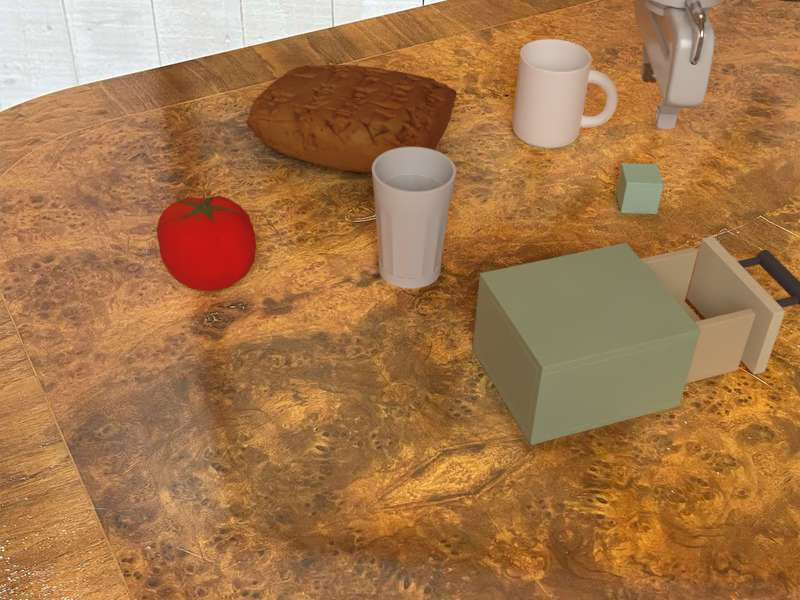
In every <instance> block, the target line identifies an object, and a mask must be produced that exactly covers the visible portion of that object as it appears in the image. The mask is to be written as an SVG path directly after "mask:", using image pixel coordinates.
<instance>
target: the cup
mask: <svg viewBox="0 0 800 600" xmlns="http://www.w3.org/2000/svg"><path fill="white" fill-rule="evenodd" d="M371 174H372V175H371V177H372V187H373V188H372V189H373V198H374V212H375V228H376V239H377V240H376V241H377V253H378V254H377V255H378V273H379V275H380V277H381V278H382V280H384V281H385V282H386V283H388V284H390V285H392V286H393V287H396V288H400V289H406V290H407V289H408V290H409V289H410V290H411V289H412V290H413V289H420V288H425V287H428V286H430V285H432V284H433V283H435V282H436V281H437V280H438V279H439V278H440V275H441V273H442V271H441V270H442V256H443V255H442V254H443V250H444V244H445V238H446V232H447V231H446V230H447V225H448V219H449V213H450V208H451V207H450V206H451V203H452V199H453V194H454V190H455V189H454V188H455V182H456V178H457V167H456V165H455V162H454V161H453V160H452V159H451V158H450V157H449V156H447V155H446V154H445V153H442V152H440V151H438V150H435V149H434V150H432V149H429V148H423V147H400V148H395V149H392V150H389V151H386V152H384V153H383V154H381V155H380V156H378V157H377V158H376V159H375V161H374V162H373V165H372V173H371Z"/></svg>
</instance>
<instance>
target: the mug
mask: <svg viewBox="0 0 800 600" xmlns="http://www.w3.org/2000/svg"><path fill="white" fill-rule="evenodd" d="M592 62H593V56H592V53H590V51H589V50H588V49H587V48H586V47H584V46H582V45H580V44H579V43H576V42H573V41H569V40H565V39H558V38H542V39H535V40H533V41H529V42H528V43H527V42H526V44H524V45H523V46H522V47H521V48H520V51H519V58H518V66H517V75H516V82H515V83H516V84H515V91H514V92H515V93H514V102H513V103H514V104H513V111H512V120H511V121H512V122H511V124H512V125H511V126H512V132H513V133H514V135H515V136H516V137H517V138H518V140H520V141H521V142H523V143H524V144H526V145H529V146H531V147H534V148H538V149H547V150H551V149H552V150H554V149H555V150H556V149H561V148H565V147H567V146H569V145H571V144H573V143H574V142H576V140H577V139H578V138H579V136H580V133H581V130H582V129H583V128H584V129H590V128H597V127H601V126H602V125H604V124H606V123H607V122H608V121H610V119H612V117H613V116H614V114H615V112H616V111H617V107H618V103H619V93H618V88H617V86H616V84H615V82H614V81H613V79H612V78H610V76H608V75H607V74H606V73H603V72H602V71H600V70H596V69H592ZM589 84H593V85H596V86H599V87H601V88H602V90H603V91H604V92H605V95H606V102H605V106H604V108H603V109H602V111H601V112H599V113H597V114H596V115H584V112H585V107H586V106H585V105H586V101H587V93H588V88H589Z"/></svg>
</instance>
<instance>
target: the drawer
mask: <svg viewBox="0 0 800 600" xmlns="http://www.w3.org/2000/svg"><path fill="white" fill-rule="evenodd" d="M640 259H641V260H642V261H643V263H644V264H645V265H646V266H647V267H648V268H649V270H650V271H651V272H652V273H653V274H654V275H655V277H656V278H657V279H658V280H659V281H660V282H661V283H662V285H663V286H664V287H665V288H666V289H667V290H668V292H669V293H670V294H671V295H672V296H673V297H674V299H675V300H676V301H677V302H678V303H679V304H680V306H681V307H682V308H683V309H684V310H685V311H686V313H687V314H688V315H689V316H690V317H691V318H692V320H693V321H694V322H695V323H696V324H697V325H698V327H699V328H700V329H701V332H700V335H699V339H698V342H697V346H696V349H695V353H694V356H693V360H692V363H691V367H690V370H689V374H688V377H687V381H686V384H689V383H693V382H698V381H702V380H706V379H710V378H714V377H718V376H721V375H725V374H730V373H733V372H736V371H737V372H738V370H739V367H740V364H741V362H742V363H743V364H744V366H745V367H746V368H747V369H748V370H749V371H750V372H751V373H752V375H757V374H762V373H765V372H766V369H767V366H768V363H769V360H770V358H771V354H772V352H773V348H774V346H775V343H776V340H777V338H778V334H779V331H780V329H781V325H782V322H783V319H784V317H785V314H786V310H785V309H784V308H787V307H791V306H795V305H798V306H800V280H799V279H798V278H797V277H796V276H795V275H794V274H793V273H792V272H791V271H790V270H789V269H788V268H787V267H786V266H785V265H784V264H783V263H782V262H781V261H780V260H779V259H778V258H777V257H776V256H775V255H774V254H773V253H772V252H771V251H770V250H769V249H763V250H760V251H759V252H758V253H757V255H756V256H753V257H749V258H745V259H740V260H737V259H735V257H733V255H732V254H731V253H730V252H729V251H728V250H727V249H726V248H725V247H724V246H723V244H722V243H720V241H718V240H717V239H716V238H715V236H713V235H712V236H707V237H702V239H701V242H700V246H699V249H698V250H697V249H696V248H695V247H694V246H692V247H687V248H683V249H679V250H674V251H670V252H665V253H659V254H654V255H650V256H646V257H642V258H641V257H640ZM755 266H760V267H761V268H762V269H763V271H765V272H766V273H767V274H768V275H769V276H770V277H771V278H772V279H773V280H774V281H775V282H776V283H777V284H778V285H779V286H780V287H781V289H783V290H784V292H786V293H787V294H788V295H789V296H787V297H783V298H778V299H774V298H773V297H772V296H771V294H769V292H767V290H766V289H765V288H763V286H762V285H761V284H760V283H759V282H758V281H757V280H756V279H755V278H754V277H753V276H752V275H751V274H750V273H749V272H748V271H747V270H746V268H751V267H755ZM686 300H688V301H689V303H690V304H691V305H692V306H693V307H694V308H695V310H697V312H698V313H699V314H700V315H701V316H702V318H703V319H701V318H700V317H699V315H697V313H696V312H695V311H694V310H693V309H692V308H691V307H690V306H689V304H688V303H687V302H686Z"/></svg>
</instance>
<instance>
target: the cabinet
mask: <svg viewBox="0 0 800 600" xmlns="http://www.w3.org/2000/svg"><path fill="white" fill-rule="evenodd" d="M474 319H475V321H474V329H473V340H472V347H471V348H472V352H473V353H474V354H475V356H476V359H477V360H478V361H479V363H480V365H481V367H482V368H483V370H484V371H485V373H486V374H487V376H488V378H489V379H490V381H491V383H492V385H493V386H494V387H495V389H496V392H497V393H498V394H499V396H500V398H501V399H502V401H503V403H504V404H505V406H506V407H507V409H508V411H509V412H510V414H511V416H512V418H513V420H514V421H515V423H516V424H517V426H518V428H519V429H520V431H521V432H522V434H523V435H524V437H525V440H527V442H528V444H529V446H533V445H537V444H541V443H544V442H549V441H553V440H556V439H560V438H564V437H567V436H571V435H576V434H578V433H583V432H587V431H591V430H594V429H598V428H601V427H606V426H609V425H613V424H618V423H621V422H625V421H628V420H632V419H637V418H640V417H644V416H647V415H648V416H649V415H651V414H654V413H655V414H656V413H659V412H664V411H667V410H671V409H674V408H678V407H680V405H681V402H682V398H683V395H684V390H685V388H686V381H687V377H688V374H689V370H690V367H691V363H692V360H693V356H694V353H695V349H696V346H697V342H698V339H699V335H700V332H701V329H700V328H699V327H698V325H697V324H696V323H695V322H694V321H693V320H692V318H691V317H690V316H689V315H688V314H687V313H686V311H685V310H684V309H683V308H682V307H681V306H680V304H679V303H678V302H677V301H676V300H675V299H674V297H673V296H672V295H671V294H670V293H669V292H668V290H667V289H666V288H665V287H664V286H663V285H662V283H661V282H660V281H659V280H658V279H657V278H656V277H655V275H654V274H653V273H652V272H651V271H650V270H649V268H648V267H647V266H646V265H645V264H644V263H643V261H642V260H641V257H640V256H639V255H638V254H637V253H636V252H635V251H634V250H633V249H632V247H631V246H630V245H629V244H628V243H627V242H622V243H617V244H613V245H608V246H604V247H603V246H602V247H598V248H594V249H590V250H585V251H579V252H575V253H570V254H564V255H561V256H556V257H552V258H551V257H550V258H547V259H542V260H536V261H533V262H527V263H523V264H517V265H513V266H509V267H503V268H498V269H494V270H489V271H484V272H480V273H479V279H478V290H477V301H476V310H475V318H474Z"/></svg>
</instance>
